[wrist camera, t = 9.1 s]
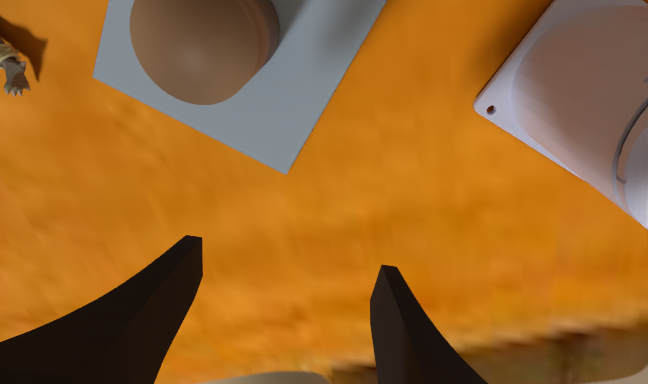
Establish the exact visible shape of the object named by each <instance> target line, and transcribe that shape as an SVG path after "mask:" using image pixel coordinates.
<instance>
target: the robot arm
mask: <svg viewBox="0 0 648 384" xmlns="http://www.w3.org/2000/svg"><path fill="white" fill-rule="evenodd" d="M492 105H493V106H494V108H493V110H492V111H491V112H489V113H487V111H486V110H487V108H488V107H489V106H492ZM473 108H474V110H475V111H476V112H477V113H478V114H480V115H482V116H483V117H485V118H486V119H488V120H489V121H491V122H493V123H494V124H496V125H497V126H499V127H501V128H502V129H504V130H505V131H507V132H508V133H510V134H512V135H513V136H515V137H516V138H518V139H519V140H521V141H523V142H524V143H526V144H527V145H529V146H531V147H532V148H534V149H535V150H537V151H538V152H540V153H542V154H543V155H545V156H546V157H548V158H549V159H551V160H553V161H554V162H556V163H557V164H559V165H561V166H562V167H564V168H565V169H567V170H568V171H570V172H572V173H573V174H575V175H576V176H578V177H579V178H581V179H583V180H584V181H586V182H588V183H589V184H590V185H592V186H593V187H594V188H596V189H597V190H598V191H599V192H601V193H602V194H603V195H604V196H606V197H607V198H608V199H610V200H611V201H612V202H613V203H615V204H616V205H617V206H619V207H620V208H621V209H622V210H624V211H625V212H626V213H628V214H629V215H630V216H631V217H633V218H634V219H635V220H636V221H638V222H639V223H640V224H641V225H643V226H644V227H645V228H647V229H648V4H647V3H646V2H644V1H643V0H554V1H553V2H552V3H551V5H550V6H549V7H548V8H547V10H546V11H545V12H544V14H543V15H542V16H541V17H540V19H539V20H538V21H537V22H536V24H535V25H534V26H533V27H532V29H531V30H530V31H529V32H528V34H527V35H526V36H525V37H524V39H523V40H522V41H521V42H520V44H519V45H518V46H517V48H516V49H515V50H514V51H513V53H512V54H511V55H510V56H509V58H508V59H507V60H506V61H505V63H504V64H503V65H502V66H501V68H500V69H499V70H498V71H497V73H496V74H495V75H494V76H493V78H492V79H491V80H490V82H489V83H488V84H487V85H486V87H485V88H484V89H483V90H482V92H481V93H480V94H479V95H478V97H477V98H476V99H475V101H474V103H473ZM202 276H203V264H202V237H196V236H189V235H186V236H185V237H183V238H182V239H181V240H179V241H178V242H177V243H176V244H175V245H173V246H172V247H171V248H170V249H169V250H167V251H166V252H165V253H164V254H162V255H161V256H160V257H159V258H157V259H156V260H155V261H153V262H152V263H151V264H149V265H148V266H147V267H145V268H144V269H143V270H141V271H140V272H139V273H137V274H136V275H134V276H133V277H131V278H130V279H128V280H127V281H126V282H124V283H123V284H121V285H120V286H118V287H116V288H115V289H113V290H112V291H110V292H108V293H107V294H105V295H103V296H102V297H100V298H98V299H96V300H95V301H93V302H91V303H89V304H87V305H85V306H83V307H81V308H79V309H77V310H75V311H73V312H71V313H69V314H67V315H65V316H63V317H61V318H59V319H57V320H54V321H52V322H50V323H48V324H45V325H43V326H41V327H38V328H36V329H34V330H31V331H29V332H26V333H24V334H21V335H18V336H16V337H13V338H10V339H7V340H5V341H2V342H0V384H154V382H155V379H156V377H157V374H158V372H159V369H160V367H161V364H162V362H163V360H164V358H165V355H166V353H167V351H168V349H169V347H170V345H171V343H172V341H173V339H174V337H175V336H176V334H177V332H178V330H179V328H180V326H181V324H182V322H183V320H184V318H185V316H186V314H187V312H188V310H189V308H190V306H191V304H192V302H193V300H194V298H195V296H196V293H197V290H198V288H199V285H200V282H201V279H202ZM370 324H371V332H372V340H373V347H374V354H375V361H376V368H377V375H378V384H488V383H487V382H486V381H485V380H483V379H482V378H481V377H480V376H479V375H478V374H477V373H476V372H475V371H474V370H473V369H472V368H471V367H470V366H469V365H468V364H467V363H466V362H465V361H464V360H463V359H462V358H461V357H460V356H459V354H458V353H457V352H456V351H455V350H454V349H453V348H452V347H451V345H450V344H449V343H448V342H447V341H446V340H445V338H444V337H443V336H442V335H441V334H440V332H439V331H438V330H437V328H436V327H435V326H434V324H433V323H432V322H431V320H430V319H429V317H428V316H427V315H426V313H425V312H424V310H423V309H422V307H421V306H420V304H419V303H418V301H417V300H416V298H415V296H414V295H413V293H412V292H411V290H410V288H409V287H408V285H407V283H406V282H405V280H404V278H403V277H402V275H401V273H400V271H399V270H398V268H397V267H394V266H388V265H381V268H380V271H379V274H378V278H377V281H376V284H375V287H374V290H373V293H372V296H371V299H370Z"/></svg>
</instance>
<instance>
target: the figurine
mask: <svg viewBox="0 0 648 384" xmlns="http://www.w3.org/2000/svg"><path fill="white" fill-rule="evenodd" d="M18 51H19V50H14V49H12V47H11V45H9V44H5V42H4V41H3V40H2V39H1V38H0V69H5V72H6V78H7V82H6V83H5V85H4V90H5V92H6V94H9V93H10V91H11V93H12V95H13V96H15V97H16V94H17V93H18V94H19V95H20V96H22V90H23V88H25V89H27V90H29V91H30V87H29V83H28V81H27V79H26V77H25V75H24V72H25V69H26V62H25V61H23V62H21V61H20V60H21V57H20V56H19V55H18V54H17V53H18Z"/></svg>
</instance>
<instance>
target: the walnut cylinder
mask: <svg viewBox="0 0 648 384" xmlns="http://www.w3.org/2000/svg"><path fill="white" fill-rule="evenodd" d="M279 35H280V26H279V19H278V16H277V12H276V10H275V7H274V5H273V3H272V2H271V0H135V1H134V3H133V6H132V9H131V15H130V37H131V41H132V46H133V48H134V51H135V54H136V56H137V59H138V61H139V63H140V64H141V66H142V68H143V69H144V71H145V72H146V74H147V75H148V76H149V77H150V79H151V80H152V81H153V82H154V83H155V84H156V85H157V86H158V87H160V88H161V89H162V90H163V91H165V92H166V93H167V94H169V95H171V96H172V97H174V98H176V99H179V100H181V101H183V102H187V103H190V104H195V105H213V104H217V103H220V102H223V101H226V100H227V99H229V98H231V97H232V96H234V95H235V94H236V93H237V92H238V91H239V90H240V89H241V88H242V87H243V86H244V85H245V84H246V83H247V82H248V81H249V80H250V79H251V78H252V77H253V76H254V75H255V74H256V73H257V72H258V71H259V70H260V69H261V68H262V67H263V66H264V65H265V64H266V63H267V62H268V61H269V60H270V59H271V58H272V56H273V55H274V53H275V51H276V48H277V46H278V42H279Z"/></svg>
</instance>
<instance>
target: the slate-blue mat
mask: <svg viewBox="0 0 648 384" xmlns="http://www.w3.org/2000/svg"><path fill="white" fill-rule="evenodd" d="M134 1H135V0H109V3H108V8H107V13H106V17H105V22H104V26H103V31H102V36H101V40H100V45H99V49H98V54H97V59H96V63H95V68H94V72H93V78H95V79H97V80H99V81H101V82H103V83H105V84H107V85H109V86H111V87H113V88H115V89H117V90H119V91H121V92H123V93H125V94H127V95H129V96H131V97H133V98H135V99H137V100H139V101H141V102H143V103H145V104H147V105H149V106H151V107H153V108H155V109H157V110H159V111H161V112H163V113H165V114H166V115H168V116H170V117H172V118H174V119H176V120H178V121H180V122H182V123H184V124H186V125H188V126H190V127H192V128H194V129H196V130H198V131H200V132H202V133H204V134H206V135H208V136H210V137H212V138H214V139H216V140H218V141H220V142H222V143H224V144H226V145H228V146H230V147H232V148H234V149H236V150H238V151H240V152H242V153H244V154H246V155H248V156H250V157H252V158H253V159H255V160H257V161H259V162H261V163H263V164H265V165H267V166H269V167H271V168H273V169H275V170H277V171H279V172H281V173H283V174H285V175H286V174H287V172H288V171H289V169H290V167H291V166H292V164H293V162H294V160H295V159H296V157H297V155H298V153H299V152H300V150H301V148H302V147H303V145H304V143H305V141H306V140H307V138H308V136H309V134H310V133H311V131H312V129H313V127H314V126H315V124H316V122H317V121H318V119H319V117H320V115H321V114H322V112H323V110H324V108H325V107H326V105H327V103H328V102H329V100H330V98H331V96H332V95H333V93H334V91H335V89H336V88H337V86H338V84H339V82H340V81H341V79H342V77H343V76H344V74H345V72H346V70H347V69H348V67H349V65H350V63H351V62H352V60H353V58H354V57H355V55H356V53H357V51H358V50H359V48H360V46H361V44H362V43H363V41H364V39H365V37H366V36H367V34H368V32H369V31H370V29H371V27H372V25H373V24H374V22H375V20H376V18H377V17H378V15H379V13H380V11H381V10H382V8H383V6H384V5H385V3H386V1H387V0H271V2H272V3H273V5H274V7H275V10H276V12H277V16H278V19H279V26H280V35H279V42H278V46H277V48H276V51H275V53H274V55H273V56H272V58H271V59H270V60H269V61H268V62H267V63H266V64H265V65H264V66H263V67H262V68H261V69H260V70H259V71H258V72H257V73H256V74H255V75H254V76H253V77H252V78H251V79H250V80H249V81H248V82H247V83H246V84H245V85H244V86H243V87H242V88H241V89H240V90H239V91H238V92H237V93H236V94H235V95H234V96H232V97H231V98H229V99H227V100H226V101H223V102H220V103H217V104H213V105H195V104H190V103H187V102H183V101H181V100H179V99H176V98H174V97H172V96H171V95H169V94H167V93H166V92H165V91H163V90H162V89H161V88H160V87H158V86H157V85H156V84H155V83H154V82H153V81H152V80H151V79H150V77H149V76H148V75H147V74H146V72H145V71H144V69H143V68H142V66H141V64H140V63H139V61H138V59H137V56H136V54H135V51H134V48H133V46H132V41H131V37H130V15H131V9H132V6H133V3H134Z"/></svg>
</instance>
